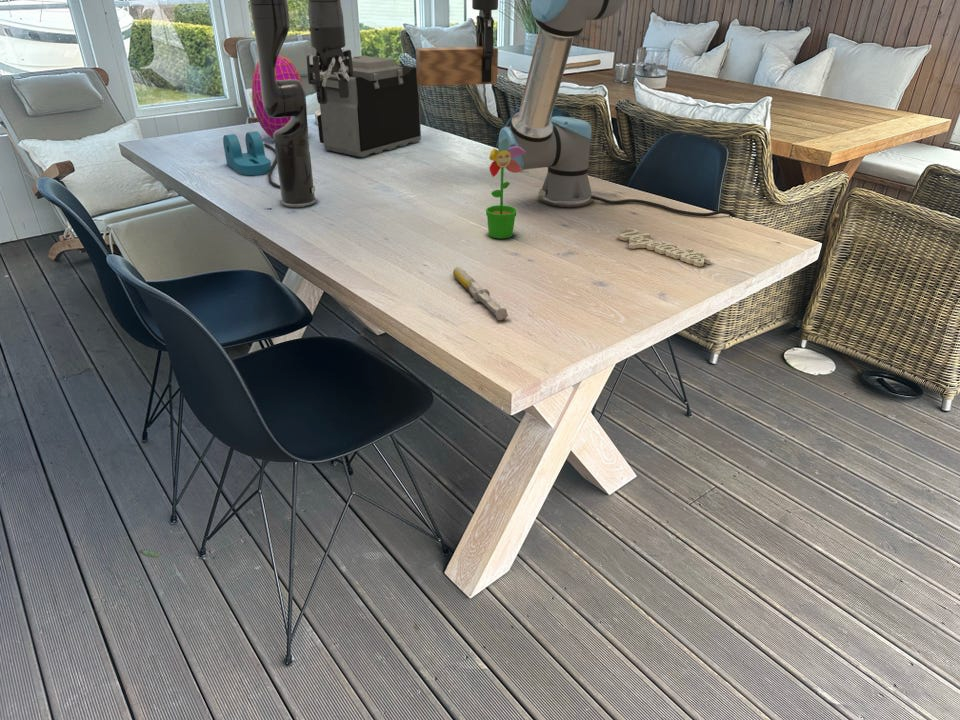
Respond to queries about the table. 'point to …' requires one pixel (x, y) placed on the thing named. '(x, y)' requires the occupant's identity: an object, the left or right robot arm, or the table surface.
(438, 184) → the table surface
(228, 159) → the camera mount
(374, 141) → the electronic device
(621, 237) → the decorative sign
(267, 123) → the decorative egg
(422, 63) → the box
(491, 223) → the potted flower
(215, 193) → the table surface
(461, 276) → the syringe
